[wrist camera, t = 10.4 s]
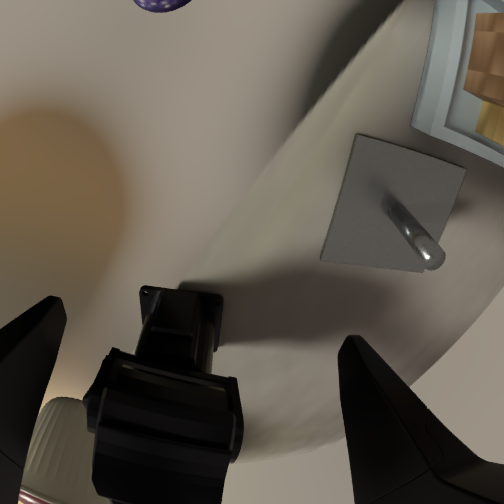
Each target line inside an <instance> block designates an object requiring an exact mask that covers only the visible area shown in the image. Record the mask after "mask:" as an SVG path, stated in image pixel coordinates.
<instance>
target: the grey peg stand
mask: <svg viewBox="0 0 504 504" xmlns="http://www.w3.org/2000/svg"><path fill="white" fill-rule="evenodd" d="M465 173H466V169H464V168H462V167H460V166H457V165H455V164H452V163H449V162H446V161H444V160H441V159H438V158H435V157H432V156H430V155H427V154H424V153H421V152H418V151H415V150H411V149H408V148H405V147H402V146H399V145H395V144H392V143H389V142H385V141H382V140H378V139H374V138H371V137H367V136H363V135H360V134H355V137H354V141H353V145H352V149H351V153H350V157H349V160H348V164H347V168H346V171H345V175H344V179H343V182H342V186H341V189H340V193H339V196H338V200H337V203H336V206H335V210H334V213H333V216H332V220H331V223H330V226H329V230H328V233H327V236H326V239H325V242H324V245H323V249H322V252H321V255H320V260H321V261H328V262H337V263H345V264H353V265H361V266H370V267H378V268H386V269H394V270H403V271H411V272H419V273H423V272H424V270H425V268H426V269H428V270H436V269H438V268H439V267H440V266H441V265H442V264H443V263H444V261H445V257H446V255H445V252H444V251H443V250H442V248H441V247H440V246H439V245H438V244H437V242H438V240H439V238H440V236H441V233H442V231H443V229H444V227H445V224H446V222H447V220H448V217H449V215H450V212H451V210H452V207H453V205H454V202H455V200H456V197H457V195H458V192H459V189H460V187H461V184H462V181H463V179H464V176H465Z"/></svg>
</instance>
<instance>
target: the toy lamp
mask: <svg viewBox="0 0 504 504" xmlns="http://www.w3.org/2000/svg"><path fill="white" fill-rule="evenodd" d="M190 1H191V0H134V2H135V3H136V4H137V5H138V6H139V7H141V8H143V9H145V10H148V11H150V12H156V13H157V12H160V13H162V12H169V11H173V10H176V9H178V8H180V7H183V6H185V5H186V4H187V3H189V2H190Z"/></svg>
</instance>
